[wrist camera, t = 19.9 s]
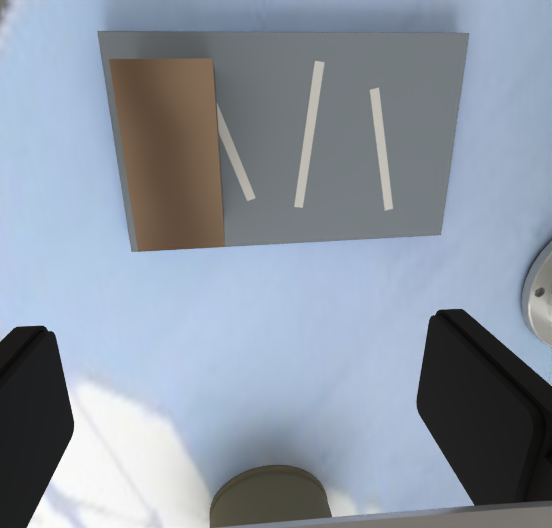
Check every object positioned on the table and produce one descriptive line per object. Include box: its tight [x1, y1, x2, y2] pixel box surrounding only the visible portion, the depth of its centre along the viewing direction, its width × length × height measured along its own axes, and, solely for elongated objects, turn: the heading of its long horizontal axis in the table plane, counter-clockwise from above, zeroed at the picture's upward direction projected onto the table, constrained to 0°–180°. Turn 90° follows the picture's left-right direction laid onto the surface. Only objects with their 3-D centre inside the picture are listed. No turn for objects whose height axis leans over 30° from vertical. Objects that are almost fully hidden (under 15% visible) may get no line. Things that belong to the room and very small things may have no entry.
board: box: [98, 31, 469, 252], centre depth 27 cm, size 22×13×2 cm, turn 91°
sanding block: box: [109, 58, 225, 252], centre depth 22 cm, size 4×9×6 cm, turn 1°
